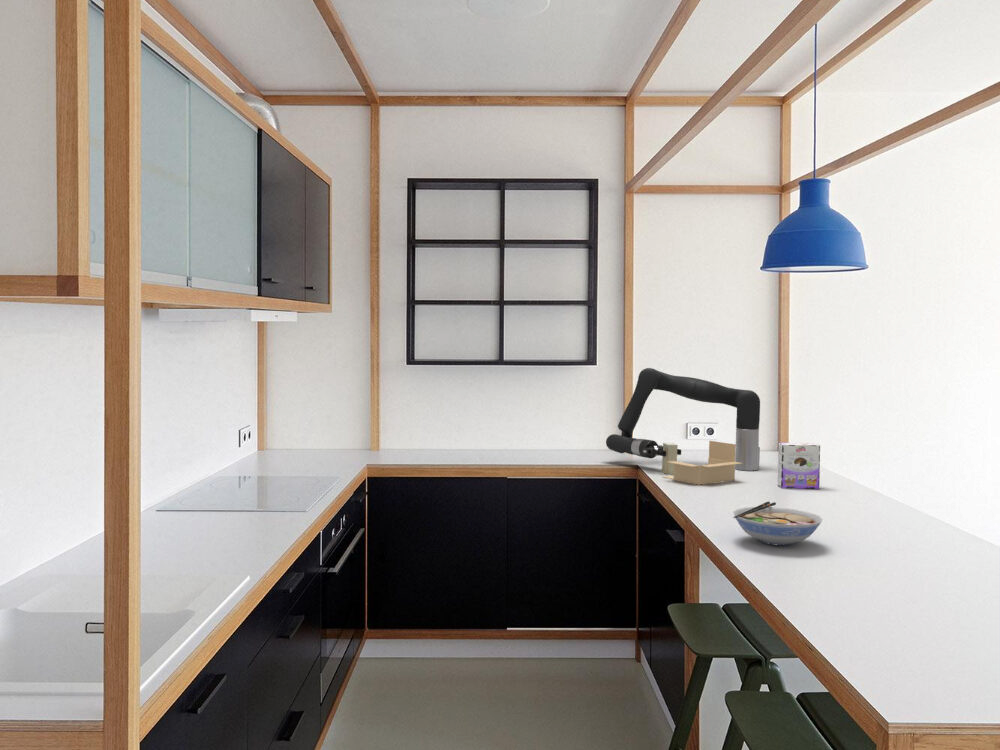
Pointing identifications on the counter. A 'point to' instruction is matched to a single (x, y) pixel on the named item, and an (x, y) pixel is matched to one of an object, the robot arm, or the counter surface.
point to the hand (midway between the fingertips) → (673, 453)
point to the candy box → (799, 465)
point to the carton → (708, 466)
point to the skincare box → (669, 457)
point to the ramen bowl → (777, 523)
